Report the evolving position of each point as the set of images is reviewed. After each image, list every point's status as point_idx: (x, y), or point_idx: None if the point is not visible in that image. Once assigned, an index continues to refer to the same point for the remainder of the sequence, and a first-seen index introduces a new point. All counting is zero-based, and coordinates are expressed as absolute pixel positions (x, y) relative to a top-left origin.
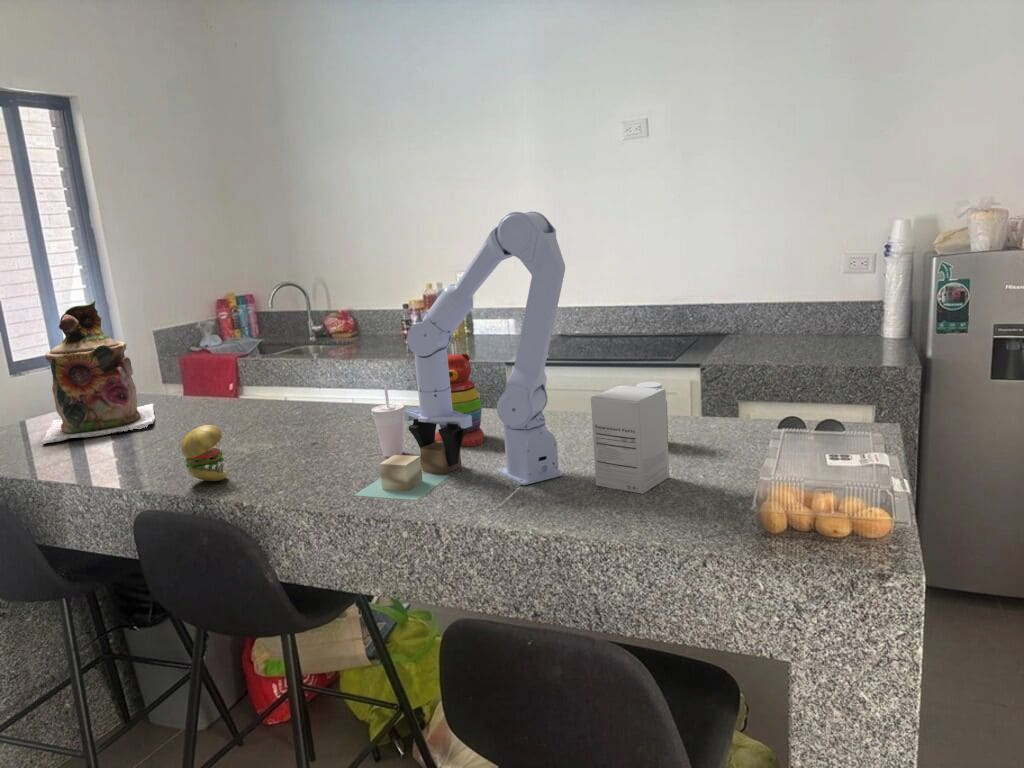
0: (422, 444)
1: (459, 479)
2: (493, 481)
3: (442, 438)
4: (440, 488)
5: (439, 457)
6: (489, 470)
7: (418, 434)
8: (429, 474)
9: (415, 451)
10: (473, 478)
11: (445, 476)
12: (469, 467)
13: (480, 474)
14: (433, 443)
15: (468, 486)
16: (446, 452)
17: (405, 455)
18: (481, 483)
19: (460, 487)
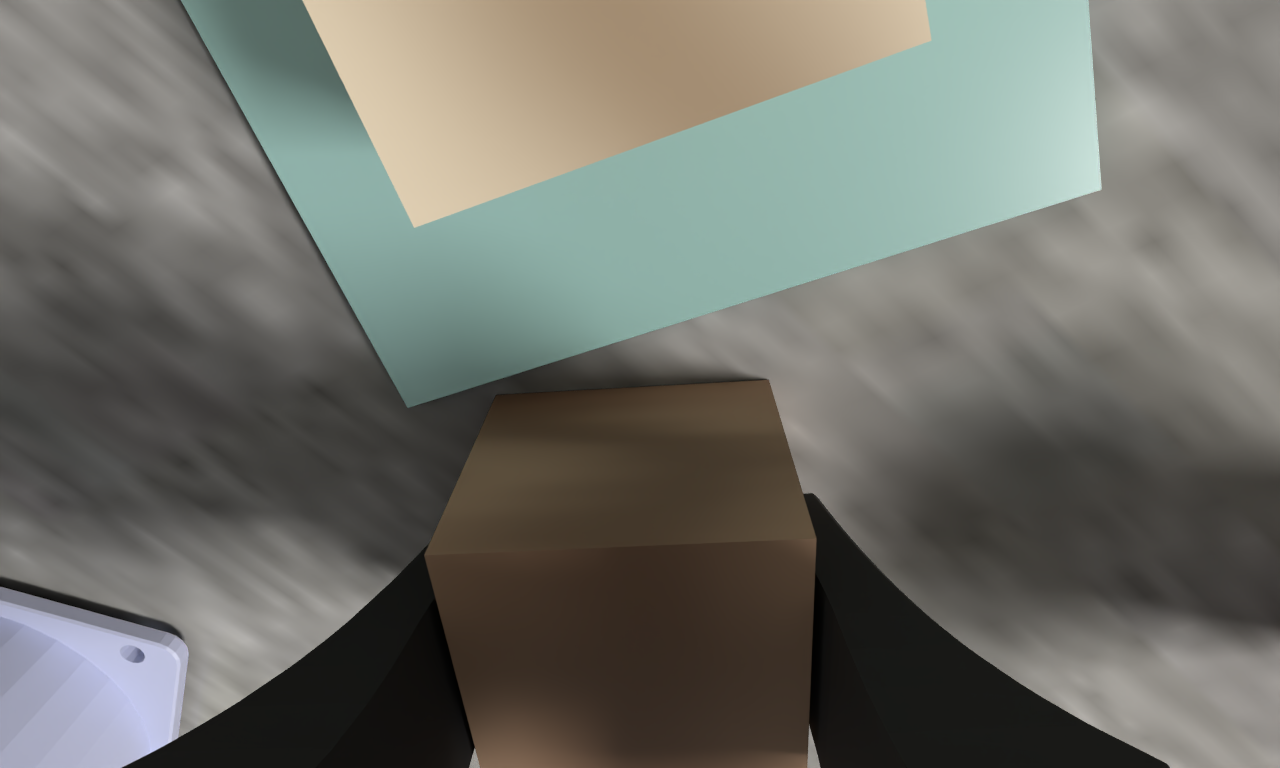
0: (834, 616)
1: (293, 399)
2: (23, 489)
3: (327, 730)
4: (202, 122)
5: (482, 501)
6: (292, 641)
7: (896, 722)
8: (611, 340)
9: (1231, 713)
10: (219, 469)
11: (418, 370)
12: None
13: (264, 556)
14: (795, 721)
15: (52, 305)
16: (422, 593)
17: (686, 122)
18: (46, 413)
19: (79, 249)
